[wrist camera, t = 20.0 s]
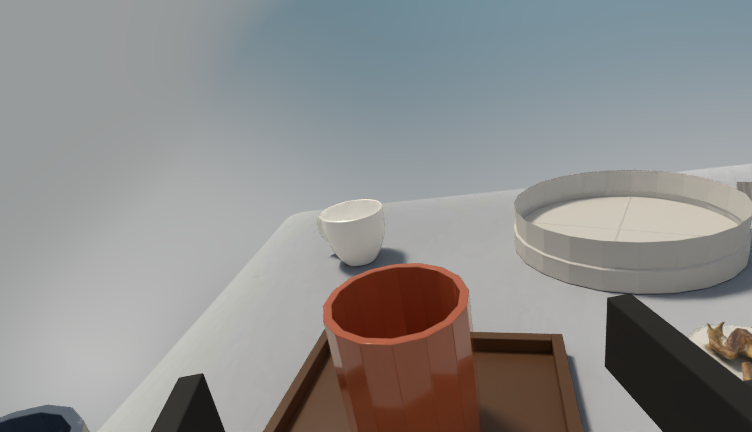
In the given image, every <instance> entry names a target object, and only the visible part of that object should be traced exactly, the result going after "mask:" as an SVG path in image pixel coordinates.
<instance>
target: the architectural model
mask: <svg viewBox="0 0 752 432" xmlns="http://www.w3.org/2000/svg"><path fill="white" fill-rule="evenodd" d="M737 190H739V191H741V192H743V193H745V194H746V195H747V196H748V197H749V198H750V200H751V201H752V182H737Z"/></svg>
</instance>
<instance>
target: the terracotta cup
mask: <svg viewBox="0 0 752 432" xmlns="http://www.w3.org/2000/svg"><path fill="white" fill-rule="evenodd" d="M323 322H324V326H325V330H326V334H327V338H328V342H329V346H330V350H331V354H332V358H333V362H334V366H335V370H336V374H337V378H338V382H339V386H340V390H341V394H342V398H343V403H344V407H345V411H346V415H347V419H348V423H349V427H350V431H351V432H482V411H481V401H480V392H479V382H478V373H477V363H476V353H475V344H474V334H473V324H472V315H471V305H470V295H469V289H468V288H467V287H466V285H465V284H464V282H463V281H462V279H461V278H460V277H459V276H458V275H456V274H454V273H452V272H450V271H448V270H446V269H445V268H442V267H438V266H432V265H427V264H422V263H421V264H420V263H411V264H393V265H388V266H384V267H379V268H374V269H371V270H368V271H366V272H364V273H361V274H359V275H356V276H354V277H352V278H350V279H348V280H347V281H346V282H344V283H343V284H341V285H340V286H339V287H337V288H336V289H335V290H334V291H333V292H332V293H331V295H330V296H329V298H328V299H327V301H326V302H325V304H324V306H323Z"/></svg>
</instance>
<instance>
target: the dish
mask: <svg viewBox="0 0 752 432" xmlns="http://www.w3.org/2000/svg"><path fill="white" fill-rule="evenodd" d="M596 191H597V192H596ZM644 191H645V192H644ZM584 192H585V193H584ZM577 193H578V194H577ZM664 193H665V194H664ZM571 194H572V195H571ZM671 194H672V195H671ZM565 195H566V196H565ZM700 200H701V201H700ZM514 209H515V223H514V239H515V246H516V251H517V253H518V254H519V255H520V257H521V258H522V259H523V260H524V261H525V263H527V264H528V265H530V266H532V267H533V268H535V269H536V270H538V271H540V272H541V273H543V274H545V275H548V276H551V277H553V278H556V279H559V280H561V281H564V282H567V283H570V284H574V285H579V286H583V287H588V288H592V289H597V290H601V291H612V292H622V293H633V294H658V293H679V292H685V291H691V290H697V289H703V288H709V287H711V286H714V285H717V284H719V283H722V282H724V281H727V280H730V279H732V278H734V277H735V276H736V275H737V274H738V273H740V272H741V271H742V270H743V269H744V268H745V267H747V263H748V258H749V254H750V248H751V241H752V231H751V229H750V226H751V220H752V201H751V200H750V198H749V197H748V196H747V195H746V194H745V193H743V192H741V191H739V190H737V189H736V188H734V187H732V186H730V185H727V184H724V183H720V182H717V181H714V180H711V179H707V178H702V177H697V176H692V175H687V174H680V173H671V172H661V171H642V170H617V171H600V172H589V173H580V174H574V175H568V176H562V177H558V178H554V179H551V180H548V181H544V182H541V183H539V184H536V185H534V186H532V187H529V188H527V189H526V190H525V191H523V192H522V193H521V194H519V195H518V197H517V199H516V200H515V202H514Z"/></svg>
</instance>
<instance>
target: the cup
mask: <svg viewBox="0 0 752 432" xmlns="http://www.w3.org/2000/svg"><path fill="white" fill-rule="evenodd" d="M317 226H318V230H319V232H320V234H321V236H322V237H323V239H324V240H325V241H326V242H327V243H328V244H329V245H330V247H331V248H332V250H333V251H334V253H335V254H336V255H337V256H338V257H339V258H340V259H341V260H342V261H343V262H345V263H346V264H347V265H350V266H362V265H366V264H369V263H371V262H372V261H374V260H375V259H376V257H377V255H378V253H379V251H380V249H381V246H382V243H383V239H384V233H385V221H384V213H383V207H382V204H381V203H380V202H379V201H376V200H371V199H359V200H352V201H346V202H343V203H339V204H336V205H333V206H331V207H329V208H327V209H326V210H324V211H323V212H322V213H321V215H320V216H319V217H318V219H317Z"/></svg>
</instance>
